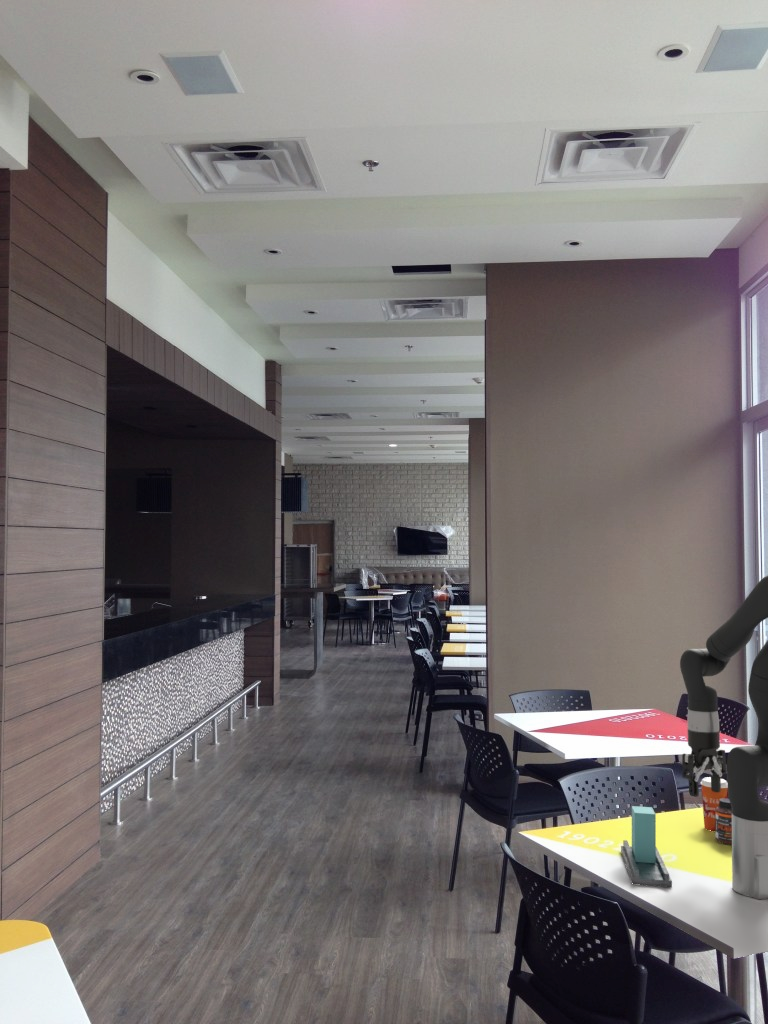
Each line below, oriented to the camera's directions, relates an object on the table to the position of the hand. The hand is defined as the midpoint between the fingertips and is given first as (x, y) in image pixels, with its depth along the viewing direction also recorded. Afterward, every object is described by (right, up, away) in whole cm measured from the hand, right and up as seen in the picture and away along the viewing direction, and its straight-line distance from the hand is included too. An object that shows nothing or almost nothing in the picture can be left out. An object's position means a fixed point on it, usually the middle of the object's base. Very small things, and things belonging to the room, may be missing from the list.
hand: (705, 793), depth 207 cm
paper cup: (+15, -21, +31) cm, 41 cm away
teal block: (-15, -17, +1) cm, 23 cm away
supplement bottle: (+14, -20, +20) cm, 32 cm away
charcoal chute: (-16, -18, -1) cm, 24 cm away
